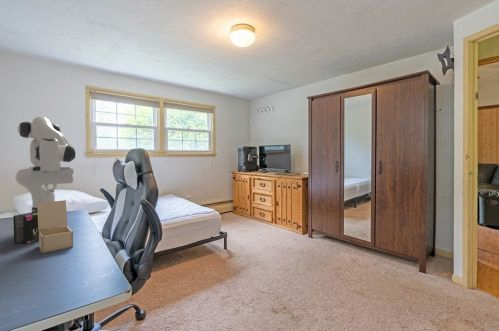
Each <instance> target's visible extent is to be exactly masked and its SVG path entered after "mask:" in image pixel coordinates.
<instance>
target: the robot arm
mask: <svg viewBox="0 0 499 331" xmlns="http://www.w3.org/2000/svg"><path fill="white" fill-rule="evenodd" d="M17 132H18V134H19V136H20V137H21V138H25V139H32V140H31V141H30V146H29V158H30V163H31V164H32V165H33V166H30V167H28V168H22V169H20V170H18V171H17V172H16V174H15V180H16V182H17V183H18V184H19V185H20V186H23V187H24V188H25V189H27V190H28V192H29V194H30V195H31V201H32V207H31V212H38V211H37V203H43V202H53V201H56V198H55V197H56V196H55V195H56V194H55V190H56V188H57V187H58V186H57V185H60V184H61V185H63V184H72V183H74V176H73V174H74V169H73V168H72V167H68V166H67V167H64V166H63V167H61V162H64V163H71V162H72V161H73V160H75V158H76V149H75V148H74V147H73V146H72V145H71V143H70V142H69V141H68V139H67V138H66V136H65V135H64V134H63V133H62V130H61V127H60V126H59V125H58V124H56V123H52V122H51V121H50V120H49V119H48V117H45V116H37V117H35V118H33V119H32V121H22V122H20V123H19V124H18V126H17ZM49 185H52V186H53V187H52V188H49ZM43 187H44V188H43ZM49 229H52V228H49Z"/></svg>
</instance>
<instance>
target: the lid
mask: <svg viewBox="0 0 499 331" xmlns="http://www.w3.org/2000/svg"><path fill="white" fill-rule="evenodd" d="M37 211H38V230H43V229H49V228H58V227H65V226H68V214H67V201H66V199H65V200H55V201H53V202H43V203H37Z"/></svg>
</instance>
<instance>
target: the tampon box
mask: <svg viewBox="0 0 499 331" xmlns="http://www.w3.org/2000/svg"><path fill="white" fill-rule="evenodd" d="M43 230H46V229H43ZM39 231H40V230H38V212H32V211H31V212H26V213H22V214H15V215H13V243H15V244H16V243H17V244H24V245H25V244H26V245H28V244H31V243H34V242H37V241H38V242H39Z"/></svg>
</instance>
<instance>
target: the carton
mask: <svg viewBox="0 0 499 331" xmlns="http://www.w3.org/2000/svg"><path fill="white" fill-rule="evenodd" d="M38 247H39V250H40V253H41V254H47V253H51V252H55V251H60V250H64V249H69V248H73V247H74V232H73V230H72V229H71V228H70V227H69V226H68V225H67V226H62V227H56V228H52V229H46V230H40V231H39V240H38Z"/></svg>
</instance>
